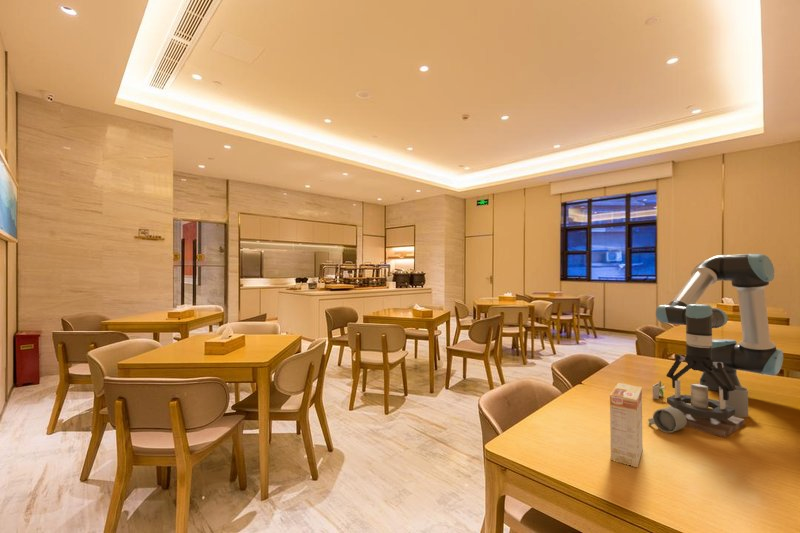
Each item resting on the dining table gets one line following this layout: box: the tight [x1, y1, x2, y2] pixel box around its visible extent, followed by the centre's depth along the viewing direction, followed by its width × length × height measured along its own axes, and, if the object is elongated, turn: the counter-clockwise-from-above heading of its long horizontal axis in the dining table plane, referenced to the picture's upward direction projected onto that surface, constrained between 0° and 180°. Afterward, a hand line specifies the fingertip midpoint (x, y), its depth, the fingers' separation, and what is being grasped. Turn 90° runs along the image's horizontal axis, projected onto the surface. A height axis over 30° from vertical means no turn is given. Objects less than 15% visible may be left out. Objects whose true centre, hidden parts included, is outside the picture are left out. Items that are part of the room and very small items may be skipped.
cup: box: [718, 386, 749, 418], centre depth 142 cm, size 8×8×10 cm
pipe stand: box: [666, 383, 746, 439], centre depth 134 cm, size 20×20×13 cm
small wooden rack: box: [652, 380, 667, 400], centre depth 159 cm, size 4×7×8 cm, turn 127°
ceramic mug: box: [647, 407, 687, 434], centre depth 129 cm, size 11×8×8 cm
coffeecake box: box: [609, 382, 644, 468], centre depth 110 cm, size 15×7×20 cm, turn 141°
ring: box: [666, 394, 735, 419], centre depth 134 cm, size 18×18×2 cm
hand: (699, 402), depth 134 cm, fingers open, 13 cm apart
